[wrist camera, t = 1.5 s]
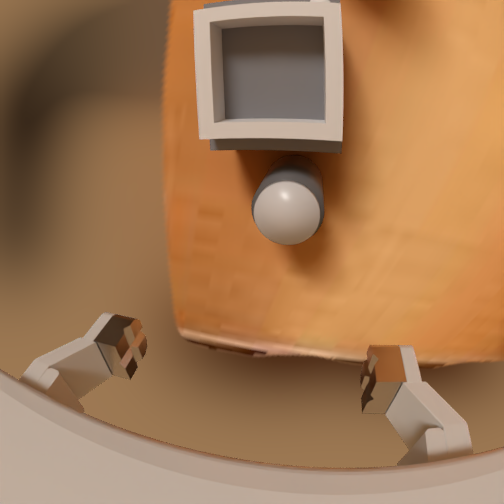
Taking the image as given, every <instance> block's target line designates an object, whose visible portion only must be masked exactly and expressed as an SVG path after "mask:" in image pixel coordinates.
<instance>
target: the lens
mask: <svg viewBox="0 0 504 504" xmlns="http://www.w3.org/2000/svg"><path fill="white" fill-rule="evenodd" d="M252 215H253V219H254V221H255V223H256V225H257V227H258V229H259V230H260V232H261V233H262V234H263V235H264V236H265V237H266V238H268V239H269V240H271V241H273V242H275V243H278V244H283V245H294V244H298V243H301V242H303V241H305V240H307V239H308V238H310V237H311V236H312V235H314V234H315V233H316V232H317V230H318V229H319V227H320V226H321V224H322V221H323V218H324V197H323V181H322V176H321V173H320V170H319V169H318V167H317V166H316V165H315V164H314V163H313V162H312V161H311V160H309V159H308V158H306V157H303V156H299V155H288V156H285V157H282V158H280V159H278V160H277V161H276V162H275V163H274V164H273V165H272V166H271V168H270V169H269V171H268V173H267V174H266V176H265V178H264V179H263V181H262V183H261V184H260V186H259V188H258V189H257V191H256V193H255V195H254V197H253V201H252Z"/></svg>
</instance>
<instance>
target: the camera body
mask: <svg viewBox="0 0 504 504" xmlns="http://www.w3.org/2000/svg"><path fill="white" fill-rule="evenodd" d="M193 12H194V47H195V71H196V91H197V108H198V124H199V138H200V139H210V150H285V151H310V152H327V153H341V152H342V138H343V40H342V19H341V3H340V0H232V1H224V2H216V3H209V4H204V9H200V10H194V11H193Z"/></svg>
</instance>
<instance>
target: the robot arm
mask: <svg viewBox="0 0 504 504" xmlns="http://www.w3.org/2000/svg"><path fill="white" fill-rule="evenodd" d="M141 329H142V324H141V322H140V320H138V319H135V318H131V317H126V316H121V315H118V314H112V313H108V312H105V313H103V314H102V315H101V316H100V317H99V318H98V320H97V321H96V322H95V323H94V325H93V326H92V327H91V328H90V330H89V331H88V332H87V333H86V335H85V336H84V337H83V338H78V339H76V340H74V341H72V342H70V343H68V344H65V345H64V346H61V347H59V348H57V349H55V350H53V351H51V352H49V353H47V354H45V355H43V356H41V357H39V358H37V359H35V360H34V361H33V362H32V364H31V365H30V366H29V368H28V369H27V370H26V371H25V373H24V374H23V375H22V376H21V378H20V379H19V380H18V379H16V378H15V377H13V376H11V375H10V374H8V373H6V372H5V371H3V370H1V369H0V504H504V447H501V448H497V449H494V450H489V451H486V452H481V453H477V454H473V449H472V444H471V439H470V434H469V430H468V426H467V422H466V421H465V420H463V418H461V416H460V415H459V414H458V413H457V412H456V411H455V410H454V409H453V408H452V407H451V406H450V405H449V404H448V403H447V402H446V401H445V400H444V399H443V398H442V397H441V396H440V395H439V394H438V393H437V392H436V391H435V390H434V389H433V388H432V387H431V386H429V384H427V382H422V380H421V376H420V371H419V367H418V363H417V359H416V355H415V352H414V348H413V346H412V345H398V346H397V345H370V346H369V348H368V351H367V360H365V361H364V363H363V366H362V370H361V380H360V383H361V388H362V389H363V390H364V392H363V395H362V398H361V400H362V401H361V402H362V413H368V414H385V415H386V417H387V418H388V420H389V421H390V422H391V424H392V426H393V427H394V428H395V430H396V431H397V433H398V434H399V436H400V437H401V438H402V440H403V442H404V443H405V444H406V446H407V447H408V449H409V451H408V453H407V454H406V455H405V456H404V457H403V458H402V459H401V460H400V461H399V462H398V463H397V466H389V467H371V468H324V467H305V466H292V465H280V464H272V463H264V462H256V461H250V460H243V459H237V458H232V457H225V456H220V455H216V454H211V453H206V452H201V451H197V450H193V449H189V448H185V447H181V446H177V445H174V444H170V443H167V442H163V441H160V440H156V439H153V438H150V437H146V436H143V435H140V434H137V433H134V432H131V431H128V430H126V429H123V428H120V427H117V426H115V425H112V424H109V423H107V422H104V421H102V420H99V419H97V418H94V417H92V416H90V415H87V414H85V413H84V408H83V406H82V405H81V404H80V402H79V401H78V400H79V399H80V398H82V397H83V396H85V395H86V394H87V393H89V392H90V391H91V390H93V389H95V388H96V387H97V386H99V385H100V384H102V383H103V382H105V381H106V380H107V379H109V378H110V377H112V375H114V376H118V377H122V378H125V379H129V380H131V378H132V376H133V375H134V373H135V371H136V369H137V368H138V366H137V362H138V361H140V360H141V359H143V357H144V355H145V353H146V349H147V339H146V336H145V335H144V334H143V333H142V332H141V331H140V330H141Z"/></svg>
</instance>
